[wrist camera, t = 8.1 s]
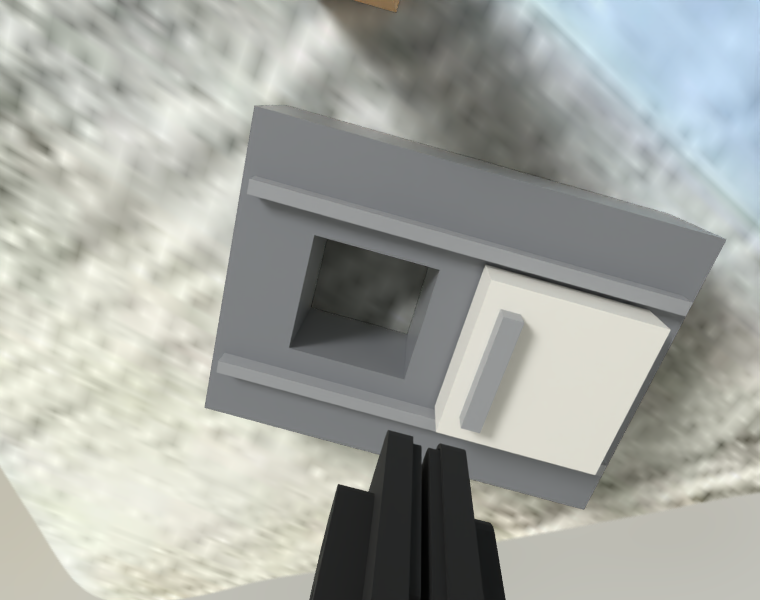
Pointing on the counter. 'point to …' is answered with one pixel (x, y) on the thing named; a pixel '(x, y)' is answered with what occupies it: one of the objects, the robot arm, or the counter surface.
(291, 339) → the socket
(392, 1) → the plug
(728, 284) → the counter surface
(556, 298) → the shutter
